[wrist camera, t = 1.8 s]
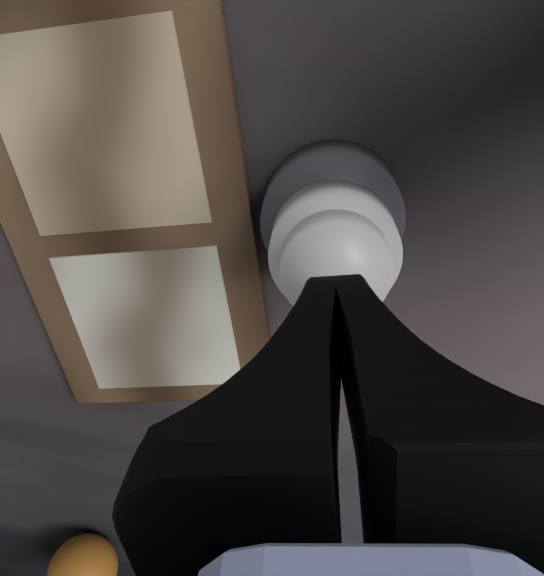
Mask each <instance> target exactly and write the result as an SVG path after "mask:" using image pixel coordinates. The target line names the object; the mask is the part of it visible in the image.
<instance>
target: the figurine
mask: <svg viewBox="0 0 544 576" xmlns="http://www.w3.org/2000/svg"><path fill="white" fill-rule="evenodd" d="M117 571H118V559H117V554H116V551H115V549H114V547H113V546H112V544H111V543H110V542H109V541H108V540H107V539H105V538H104V537H102V536H100V535H97V534H90V533H88V534H81V535H77V536H75V537H73V538H71V539H69V540H68V541H66V542H65V543H64V544H63V545H61V546H60V547H59V549H58V550H57V551H56V552H55V554H54V555H53V557H52V559H51V561H50V564H49V567H48V571H47V576H117Z"/></svg>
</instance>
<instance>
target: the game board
mask: <svg viewBox="0 0 544 576" xmlns="http://www.w3.org/2000/svg"><path fill="white" fill-rule="evenodd" d="M0 223H1V225H2V228H3V230H4V232H5V235H6V237H7V239H8V242H9V244H10V246H11V249H12V251H13V254H14V256H15V258H16V261H17V263H18V265H19V268H20V270H21V272H22V275H23V277H24V279H25V282H26V284H27V286H28V289H29V291H30V293H31V296H32V298H33V301H34V303H35V305H36V308H37V310H38V312H39V315H40V317H41V319H42V322H43V324H44V326H45V329H46V331H47V333H48V336H49V338H50V340H51V343H52V345H53V347H54V350H55V352H56V355H57V357H58V359H59V362H60V364H61V366H62V369H63V371H64V373H65V376H66V378H67V380H68V383H69V385H70V387H71V390H72V392H73V394H74V397H75V399H76V402H77V404H84V403H115V402H146V401H176V400H199V399H201V398H203V397H204V396H206V395H207V394H209V393H210V392H212V391H213V390H215V389H216V388H217V387H219V386H220V385H222V384H223V383H224V382H226V381H227V380H228V379H229V378H231V377H232V376H233V375H234V374H235V373H237V372H238V371H239V370H240V369H241V368H243V367H244V366H245V365H246V364H247V363H248V362H249V361H250V360H251V359H252V358H253V357H254V356H255V355H256V354H257V353H258V352H259V351H260V350H261V349H262V348H263V347H264V346H265V344H266V343H267V342H268V341H269V340H270V338H271V337H270V331H269V324H268V317H267V310H266V303H265V296H264V289H263V282H262V275H261V268H260V262H259V255H258V248H257V241H256V234H255V227H254V220H253V213H252V206H251V200H250V193H249V186H248V179H247V172H246V165H245V158H244V151H243V144H242V137H241V131H240V124H239V117H238V110H237V103H236V96H235V89H234V82H233V75H232V69H231V62H230V55H229V48H228V41H227V34H226V27H225V20H224V13H223V7H222V0H0Z"/></svg>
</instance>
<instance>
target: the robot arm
mask: <svg viewBox="0 0 544 576" xmlns="http://www.w3.org/2000/svg"><path fill="white" fill-rule="evenodd" d="M341 379H342V384H343V390H344V395H345V401H346V406H347V411H348V417H349V422H350V427H351V433H352V438H353V444H354V449H355V455H356V462H357V470H358V482H359V494H360V506H361V518H362V530H363V542H364V543H342V540H341V522H340V503H339V485H338V433H339V411H340V389H341ZM112 518H113V522H114V526H115V530H116V533H117V535H118V537H119V540H120V542H121V544H122V546H123V548H124V551H125V553H126V555H127V557H128V559H129V562H130V564H131V566H132V568H133V571H134V573H135V575H136V576H544V406H543V405H541V404H538V403H536V402H533V401H530V400H528V399H525V398H522V397H520V396H517V395H515V394H513V393H511V392H508V391H506V390H504V389H502V388H500V387H498V386H496V385H493V384H491V383H489V382H487V381H485V380H483V379H481V378H479V377H478V376H476V375H474V374H472V373H470V372H468V371H467V370H465V369H463V368H462V367H460V366H458V365H457V364H455V363H453V362H451V361H450V360H448V359H447V358H445V357H444V356H442V355H441V354H439V353H438V352H436V351H435V350H434V349H432V348H431V347H430V346H428V345H427V344H425V343H424V342H423V341H421V340H420V339H419V338H418V337H417V336H416V335H414V334H413V333H412V332H411V331H410V330H409V329H408V328H407V327H406V326H405V325H404V324H403V323H402V322H401V321H399V320H398V319H397V318H396V316H395V315H394V314H393V313H392V312H391V311H390V310H389V309H388V308H387V307H386V306H385V305H384V303H383V302H382V301H381V300H380V299H379V297H378V296H377V295H376V294H375V292H374V291H373V290H372V289H371V287H370V286H369V284H368V283H367V281H366V280H365V278H364V277H363V276H362V275H360V274H351V275H336V276H321V277H310V278H309V279H308V280H307V281H306V283H305V285H304V288H303V290H302V292H301V294H300V296H299V297H298V299H297V301H296V303H295V304H294V306H293V308H292V309H291V311H290V312H289V314H288V315H287V317H286V318H285V320H284V321H283V323H282V324H281V325H280V327H279V328H278V329H277V331H276V332H275V333H274V335H273V336H272V337H271V338H270V340H269V341H268V342H267V343H266V344H265V346H264V347H263V348H262V349H261V350H260V351H259V352H258V353H257V354H256V355H255V356H254V357H253V358H252V359H251V360H250V361H249V362H248V363H247V364H246V365H245V366H244V367H243V368H241V369H240V370H239V371H238V372H237V373H235V374H234V375H233V376H232V377H231V378H229V379H228V380H227V381H226V382H224V383H223V384H222V385H220V386H219V387H217V388H216V389H215V390H213V391H212V392H210V393H209V394H207V395H206V396H204V397H203V398H201V399H199V400H198V401H196V402H195V403H193V404H191V405H190V406H188V407H186V408H184V409H183V410H181V411H179V412H177V413H175V414H173V415H171V416H169V417H168V418H166V419H164V420H162V421H160V422H158V423H156V424H154V425H152V426H150V427H149V428H148V430H147V432H146V434H145V436H144V438H143V440H142V442H141V443H140V445H139V447H138V448H137V451H136V453H135V455H134V457H133V459H132V461H131V463H130V465H129V468H128V470H127V473H126V475H125V478H124V480H123V483H122V485H121V487H120V490H119V492H118V495H117V497H116V500H115V502H114V508H113V514H112Z"/></svg>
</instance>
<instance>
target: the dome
mask: <svg viewBox="0 0 544 576" xmlns="http://www.w3.org/2000/svg"><path fill="white" fill-rule="evenodd" d="M402 261H403V247H402V242H401V238H400V235H399V232H398V230H397V227H396V224H395V222H394V219H393V216H392V213H391V212H390V210H389V208H388V206H387V205H386V204H385V202H384V201H383V200H382V199H381V198H380V197H379V196H378V195H377V194H376V193H374V192H373V191H371V190H370V189H368V188H366V187H364V186H362V185H360V184H357V183H354V182H350V181H344V180H328V181H321V182H317V183H314V184H311V185H309V186H307V187H304V188H303V189H301V190H299V191H298V192H296V193H295V194H294V195H292V196H291V197H290V198H289V199H288V200H287V201H286V202H285V203H284V205H283V206H282V207H281V209H280V211H279V212H278V214H277V216H276V219H275V221H274V225H273V229H272V234H271V239H270V244H269V250H268V264H269V269H270V273H271V276H272V279H273V281H274V282H275V284H276V286H277V287H278V289H279V290H280V292H281V293H282V294H283V295H284V296H285V297H286V298H287V300H288V301H289V303H290V304H291V305H292V306H294V304H295V303H296V301H297V299H298V297H299V296H300V294H301V292H302V290H303V288H304V285H305V283H306V281H307V280H308V279H309V278H310V277H321V276H336V275H351V274H360V275H362V276H363V277H364V278H365V280H366V281H367V283H368V284H369V286H370V287H371V289H372V290H373V291H374V292H375V294H376V295H377V296H378V297H379V299H380V300H381V301H382V302H383V300H384V299H385V298H386V296H387V294H388V293H389V291H390V289H391V288H392V286H393V285H394V283H395V281H396V280H397V278H398V275H399V273H400V270H401V266H402Z"/></svg>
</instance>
